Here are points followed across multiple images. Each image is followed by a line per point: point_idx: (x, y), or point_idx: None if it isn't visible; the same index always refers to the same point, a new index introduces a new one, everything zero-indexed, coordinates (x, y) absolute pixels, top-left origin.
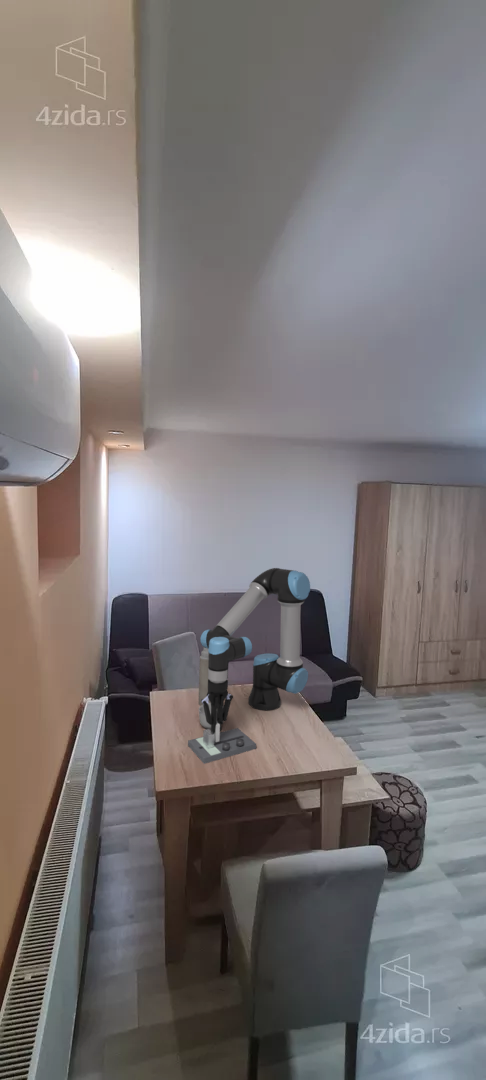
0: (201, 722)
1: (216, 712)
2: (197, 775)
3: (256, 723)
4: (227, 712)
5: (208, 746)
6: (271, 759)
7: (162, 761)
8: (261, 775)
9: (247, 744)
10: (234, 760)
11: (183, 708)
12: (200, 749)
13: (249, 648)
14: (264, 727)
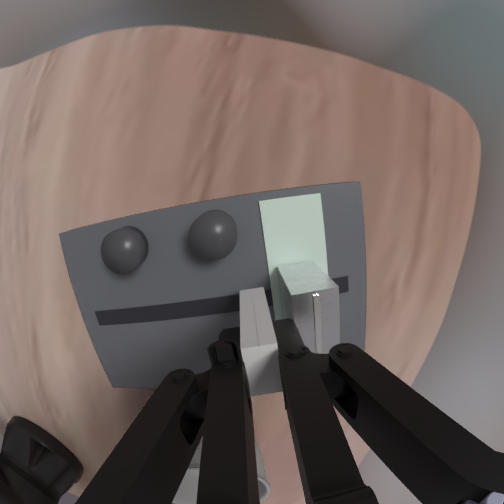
0: (259, 450)
1: (302, 441)
2: (392, 115)
3: (55, 391)
4: (140, 426)
5: (314, 264)
6: (51, 132)
7: (461, 260)
8: (137, 33)
9: (94, 240)
10: (195, 158)
11: (267, 500)
12: (348, 269)
13: None
14: (33, 359)
